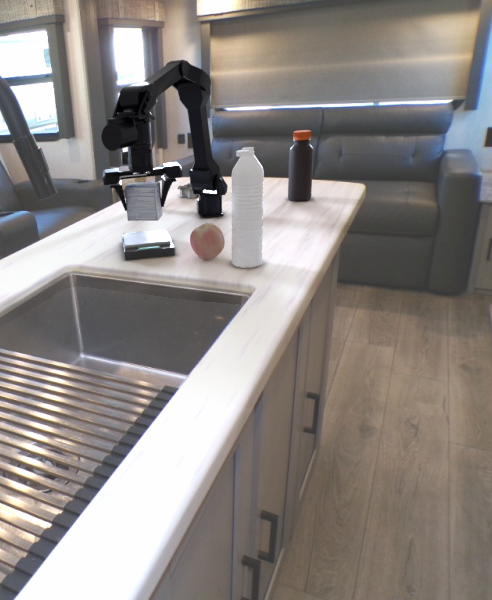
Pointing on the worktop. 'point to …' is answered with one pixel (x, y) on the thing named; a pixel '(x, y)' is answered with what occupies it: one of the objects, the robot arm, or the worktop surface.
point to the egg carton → (187, 191)
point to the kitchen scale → (147, 244)
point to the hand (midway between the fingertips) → (144, 208)
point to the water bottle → (247, 210)
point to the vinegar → (300, 167)
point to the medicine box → (143, 201)
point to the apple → (207, 241)
